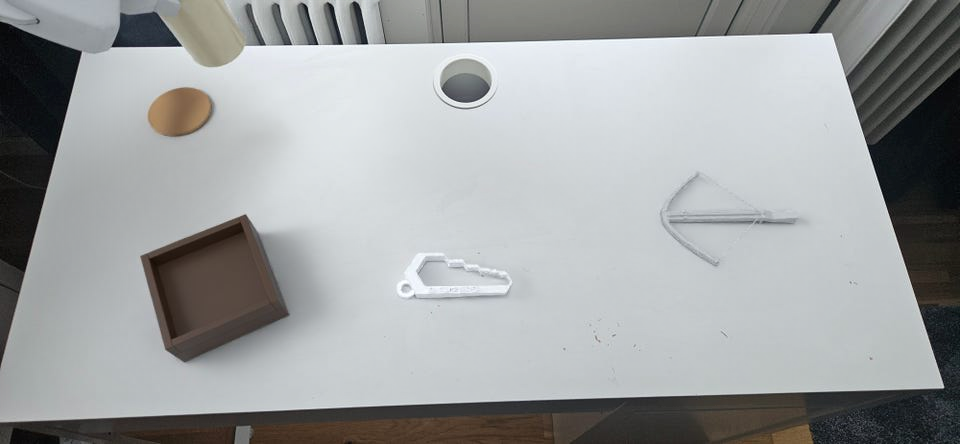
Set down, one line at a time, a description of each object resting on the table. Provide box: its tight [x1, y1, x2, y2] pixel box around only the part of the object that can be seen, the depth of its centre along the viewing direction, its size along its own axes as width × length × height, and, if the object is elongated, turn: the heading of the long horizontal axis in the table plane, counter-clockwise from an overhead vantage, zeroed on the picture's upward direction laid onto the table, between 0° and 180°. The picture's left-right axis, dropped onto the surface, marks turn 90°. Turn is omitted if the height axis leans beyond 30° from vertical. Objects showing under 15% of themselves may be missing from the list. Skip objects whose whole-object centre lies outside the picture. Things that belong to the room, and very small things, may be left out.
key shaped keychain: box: [396, 252, 513, 300], centre depth 67 cm, size 13×5×2 cm, turn 91°
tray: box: [140, 213, 290, 363], centre depth 64 cm, size 12×12×4 cm
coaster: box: [147, 87, 212, 137], centre depth 79 cm, size 8×8×1 cm
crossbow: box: [660, 170, 799, 266], centre depth 72 cm, size 16×13×2 cm
